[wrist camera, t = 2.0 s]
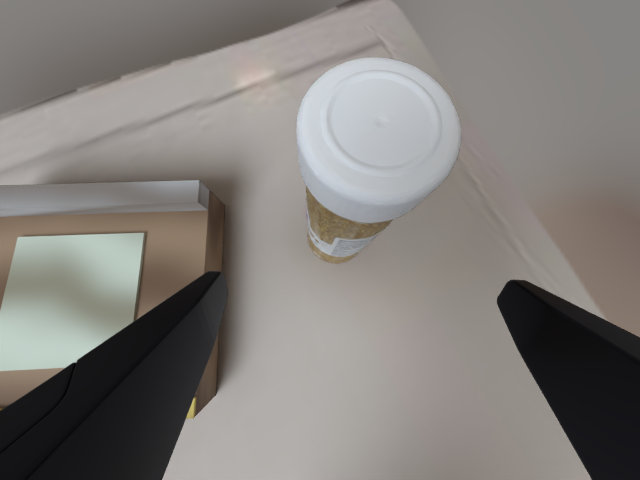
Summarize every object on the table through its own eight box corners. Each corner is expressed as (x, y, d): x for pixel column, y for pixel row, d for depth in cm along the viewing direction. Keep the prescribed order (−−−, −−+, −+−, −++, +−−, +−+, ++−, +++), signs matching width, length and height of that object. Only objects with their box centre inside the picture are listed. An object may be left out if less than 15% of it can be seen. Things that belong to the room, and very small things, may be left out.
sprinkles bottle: (303, 215, 20) (282, 57, 6) (357, 206, 20) (440, 39, 7) (312, 269, 19) (310, 215, 6) (369, 259, 19) (493, 185, 6)
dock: (216, 394, 17) (181, 431, 12) (-25, 408, 16) (-152, 451, 12) (224, 205, 20) (199, 180, 15) (22, 211, 19) (-65, 187, 15)
